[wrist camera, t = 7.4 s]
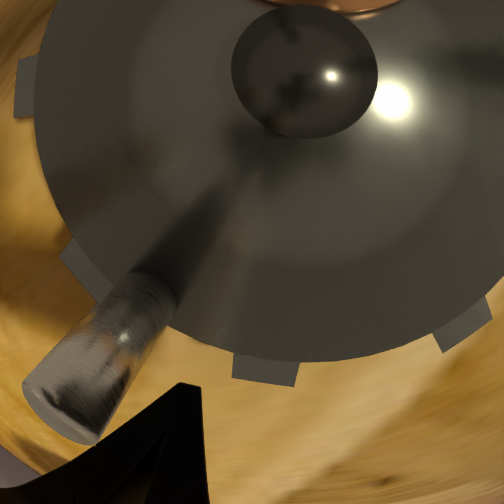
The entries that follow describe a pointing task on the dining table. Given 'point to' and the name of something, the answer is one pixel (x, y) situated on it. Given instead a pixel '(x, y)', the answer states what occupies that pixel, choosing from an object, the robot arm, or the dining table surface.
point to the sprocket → (265, 182)
